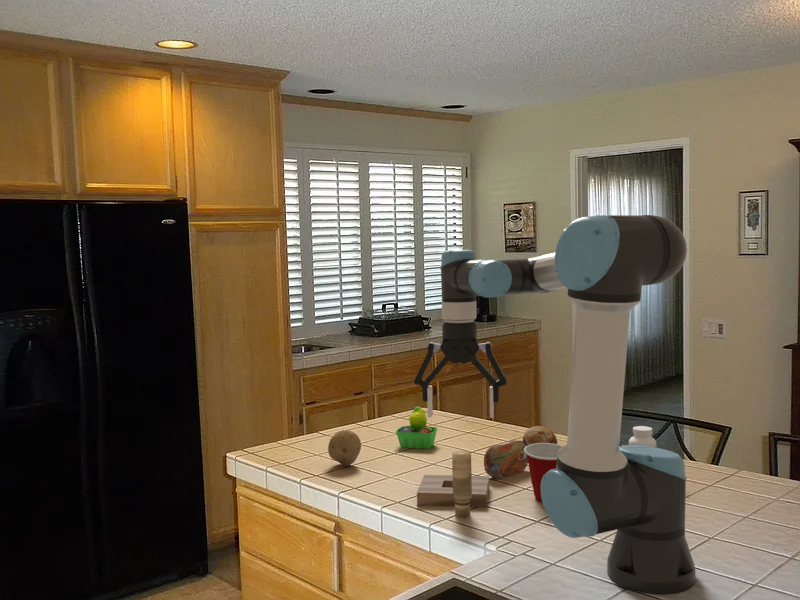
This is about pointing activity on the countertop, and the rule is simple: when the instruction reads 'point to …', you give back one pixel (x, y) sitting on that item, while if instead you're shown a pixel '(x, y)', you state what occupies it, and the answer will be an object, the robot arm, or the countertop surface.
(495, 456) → the tin
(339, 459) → the natural sponge
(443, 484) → the board
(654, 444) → the supplement bottle
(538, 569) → the countertop surface
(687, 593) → the countertop surface
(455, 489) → the peg
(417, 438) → the fruit basket
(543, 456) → the plastic cup
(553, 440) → the bread roll
